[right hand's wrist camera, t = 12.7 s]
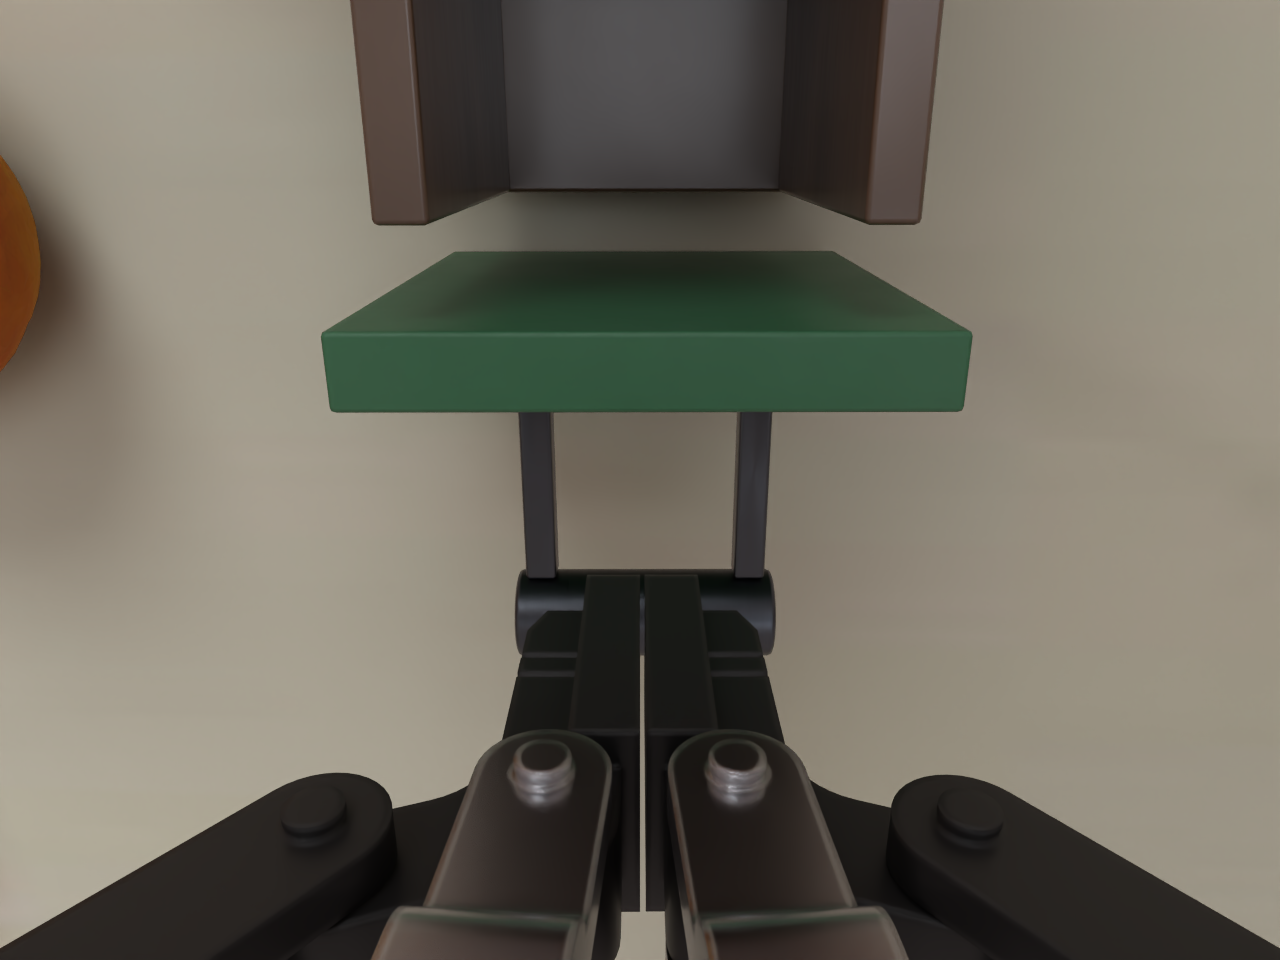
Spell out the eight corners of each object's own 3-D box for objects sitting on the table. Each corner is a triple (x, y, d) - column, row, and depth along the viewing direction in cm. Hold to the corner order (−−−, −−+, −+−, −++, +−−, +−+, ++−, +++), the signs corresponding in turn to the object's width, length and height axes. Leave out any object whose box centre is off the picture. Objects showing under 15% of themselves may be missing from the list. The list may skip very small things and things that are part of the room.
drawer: (815, 530, 25) (919, 764, 15) (472, 531, 25) (373, 765, 15) (896, -602, 17) (1211, -1513, 7) (391, -602, 17) (86, -1512, 7)
